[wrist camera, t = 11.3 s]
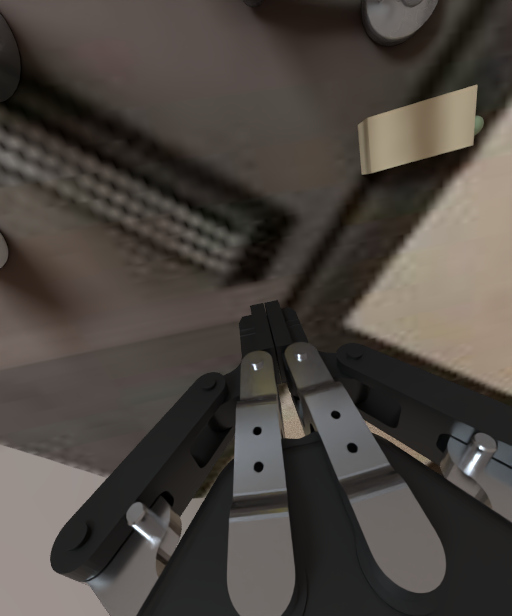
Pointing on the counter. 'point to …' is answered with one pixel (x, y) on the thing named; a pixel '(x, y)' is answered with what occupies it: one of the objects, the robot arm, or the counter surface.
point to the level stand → (419, 130)
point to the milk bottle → (3, 251)
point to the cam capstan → (389, 18)
